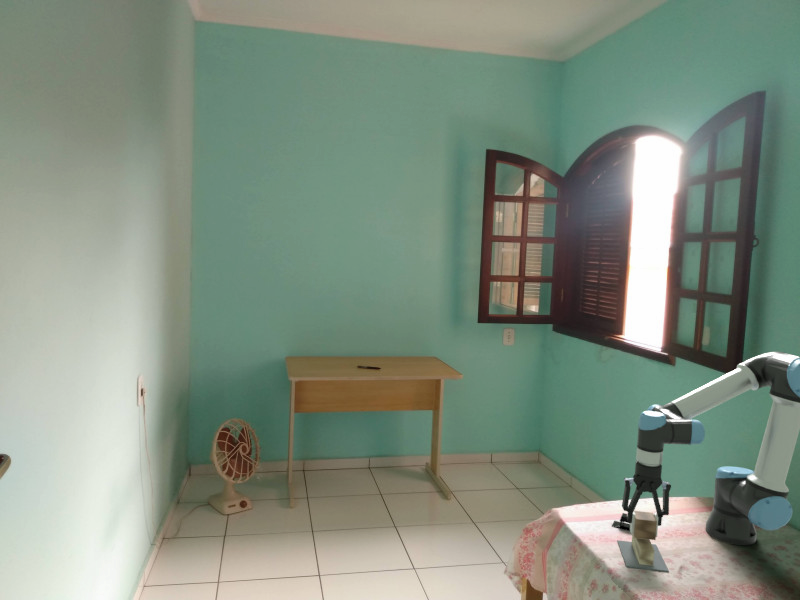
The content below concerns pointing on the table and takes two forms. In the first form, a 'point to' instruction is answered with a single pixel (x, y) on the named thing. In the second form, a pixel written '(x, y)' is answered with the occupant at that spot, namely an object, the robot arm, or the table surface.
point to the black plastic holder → (622, 523)
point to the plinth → (643, 550)
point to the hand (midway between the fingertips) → (643, 533)
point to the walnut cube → (645, 525)
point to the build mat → (633, 562)
